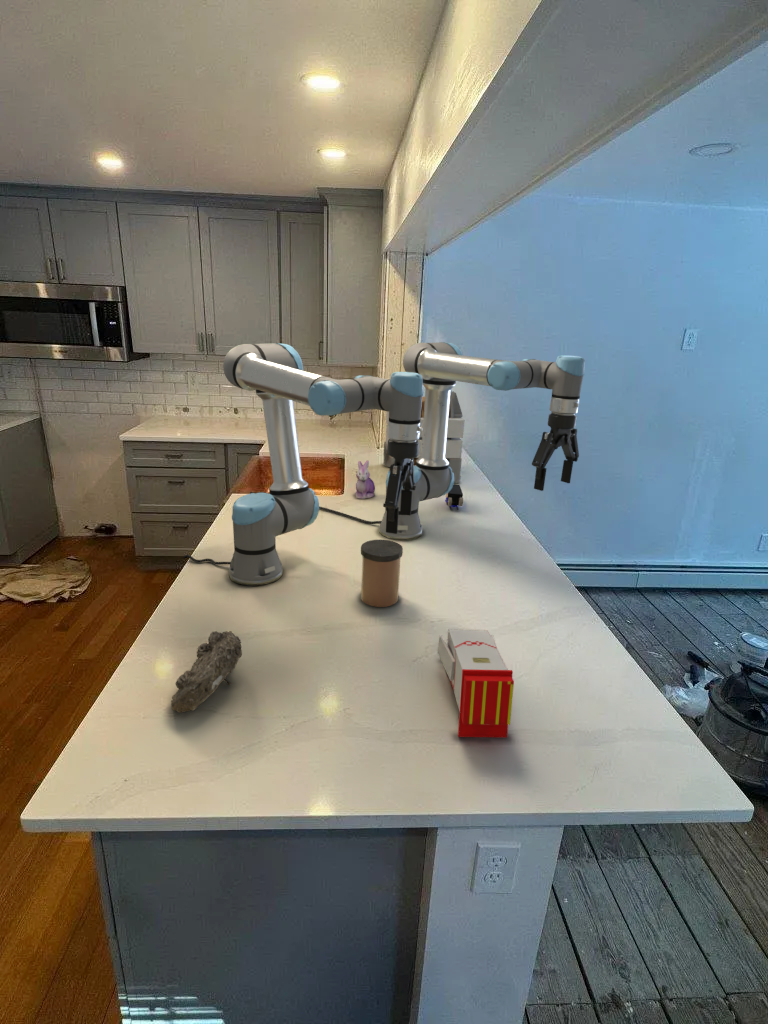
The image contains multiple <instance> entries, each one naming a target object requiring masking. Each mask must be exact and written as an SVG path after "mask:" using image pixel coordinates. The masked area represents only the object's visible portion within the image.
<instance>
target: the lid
mask: <svg viewBox="0 0 768 1024" xmlns="http://www.w3.org/2000/svg"><path fill="white" fill-rule="evenodd" d="M403 553H404V549H403V546H402V545H401V544H400V543H399V542H397V541H394V540H391V539H371V540H368V541H365V542H363V543H362V544H361V546H360V555H361V556H363V557H364V558H366V559H369V560H372V561H377V562H390V561H395V560H397V559H399V558H400V559H401V558H402V557H403Z"/></svg>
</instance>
